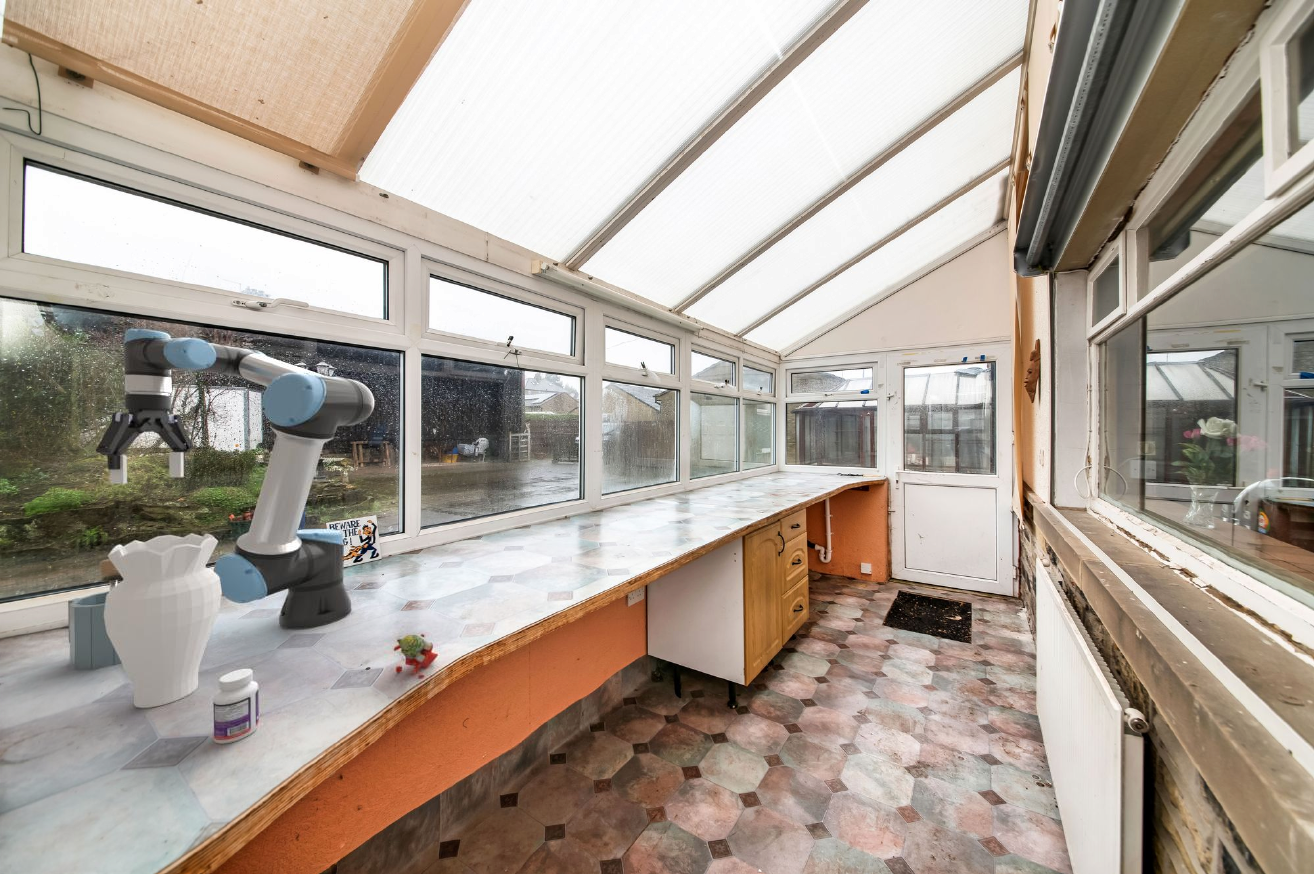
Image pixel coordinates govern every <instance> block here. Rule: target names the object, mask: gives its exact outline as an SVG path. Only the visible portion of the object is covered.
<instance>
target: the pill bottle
mask: <svg viewBox="0 0 1314 874" xmlns="http://www.w3.org/2000/svg"><path fill="white" fill-rule="evenodd" d="M253 673H254V672H253V669H251V668H241V669H236V670H233V671H231V672H228V673H226V674H224V675H222V676H221V677H220V678H219V681H218V685H219V686H218V688H219V690H218V691H217V692H216V693H215V694H214V697H213V701H212V702H213V740H214V742H215V743H217V744H220V745H221V744H223V745H224V744H230V743H234V742H237V741H240V740H242V739H245V738H247V737H248V736H251V734H253V733H254V732H255V731H256V730H257V729H258V727H259V724H260V716H259V715H260V714H259V712H260V711H259V683H257V682H256V681H254V680H253V679H254V674H253Z"/></svg>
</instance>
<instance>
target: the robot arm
mask: <svg viewBox="0 0 1314 874" xmlns="http://www.w3.org/2000/svg"><path fill="white" fill-rule="evenodd" d="M122 344H123V355H124V356H123V357H124V361H123V365H124V391H125V392H128V393H126V395H124V408H125V409H126V410H128V412H113V413H112V414H111V415H112V416H111V421H110V424H109V426H108V427H107V429H106V431H105V433H104V435H103V436H102V438H101V440H100V442H99V443H98V446H97V447H96V449H95V452H96V453H97V454H101V455H102V456H107V469H108V470H109V476H110V477H109V479H110V480H109V482H110V484H113V485H121V484H122V485H125V484H128V473H127V471H128V470H127V469H128V465H127V464H128V461H127V460H128V459H127V457H128V455H124V453H125V452H126V450H127V449H129V447H130V446H131V445H132V443H134V442H135V440H137V438H138V437H139V436H140V435H141V434H143V433H150V432H151V433H152V432H153V433H155V434H157V435H158V436H159V437H160V438H161V439H162V441H164V443H166V445H167V446H168V448H170V449H171V451H169V453H168V454H169V455H168V456H169V457H168V459H169V461H168V464H169V465H168V466H169V467H168V469H169V476H168V477H169V478H184V477H185V476H184V472H185V471H184V465H185V463H186V453H188V452H190V451H191V450H193V448H194V445H193V443H192V440H191V439H190V437H189V434H188V432H187V430H186V429H185V426H184V425H183V422H182V415H181V414H174V413H172V414H169V413H168V411H170V410H171V409H172V397H171V396H170V395H169V394H172V390H173V389H172V370H173V371H174V370H176V371H177V370H178V371H191V372H199V373H200V372H201V373H207V374H208V373H209V374H210V373H211V374H217V375H218V374H221V375H226V376H227V375H228V376H235V377H237V378H238V377H239V378H242V379H243V380H247V381H250V382H253V383H256V384H259V385H262V386H263V387H264V386H265V387H266V389H265V391H264V393H263V396H262V399H261V400H262V402H261V404H262V405H261V406H262V408H263V409H264V410H263V413H264V415H265V418H267V420H268V421H269V422H271V423H270V424H269V427H270V428H271V430H272V432H274V433H275V434H276V437H275V440H274V444H273V447H272V450H271V454H270V457H269V461H268V464H267V468H266V470H265V473H264V478H263V481H262V486H261V489H260V492H259V495H258V499H257V502H256V506H255V510H254V513H253V516H252V520H251V523H250V527H249V530H248V532H246V533H244V534H241V535H240V536H239V537H238V538H237V540H236V543H235V547H234V550H233V552H231V553H225V555H222V557H220V558H218V559H217V560H216V562H215V564H214V566H213V571H214V572H215V573H216V574H217V575H218V576H219V577H220V584H221V590H222V595H221V596H223V597H224V598H226V599H227V600H229V601H230V602H233V603H237V604H247V603H251V602H254V601H257V600H262V599H264V598H265V597H269V596H271V595H274V594H277V593H279V592H283V591H285V590H287V595H286V597H285V599H284V602H283V605H282V607H281V609H280V613H279V614H278V615H279V616H278V626H279V627H281V628H284V629H291V630H292V629H294V630H295V629H296V630H298V629H307V628H308V629H309V628H313V627H318V626H322V625H327V624H330V623H333V622H336V621H338V620H341V619H343V618H344V617H346V616H347V615H349V614H350V613H351V612H352V601H351V598H350V596H349V594H348V591H347V588H346V587H345V584H344V557H345V555H344V551H345V549H344V548H345V543H344V535H343V533H342V531H340V530H337V529H330V528H311V529H299V527H300V524H301V522H302V517H303V514H304V510H305V509H306V508H305V507H306V505H307V504H306V503H307V500H308V497H309V494H310V490H311V487H312V484H313V481H314V477H315V474H316V470H317V467H318V463H319V461H320V457H321V453H322V450H323V447H324V444H325V443H328V442H329V441H331V440H334V438H335V435H336V434H335V433H337V432H336V431H337V428H338V427H344V426H345V427H346V426H355V425H358V424H359V423H362V422H364V421H365V420H367V419H368V418H369V417H370V416H371V414H372V412H373V411H374V408H375V398H374V395H373V393H372V391H371V390H370V388H368V387H367V386H366V385H365V383H362V382H360V381H358V380H354V379H350V378H345V377H341V376H329V375H323V374H320V373H317V372H315V371H311V370H308V369H306V368H302V367H298V366H297V365H293V364H290V363H287V362H284V361H281V360H278V359H275V358H272V357H269V356H267V355H266V354H265V353H263V352H262V351H258V350H256V349H255V350H254V349H251V348H241V347H234V346H229V345H223V344H218V343H212V342H207V341H205V340H203V339H201V338H195V337H192V338H191V337H185V336H182V337H176V338H175V337H174V338H173V337H172V338H171V335H170V334H169V333H167V332H163V331H159V330H153V329H142V328H141V329H139V328H131V329H130V328H129V329H128V330H125V332H124V342H123V343H122Z"/></svg>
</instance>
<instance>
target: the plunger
mask: <svg viewBox="0 0 1314 874" xmlns="http://www.w3.org/2000/svg"><path fill="white" fill-rule="evenodd" d="M120 579H123V577H122V576H121V575H120V573H119V572H118V570H117V569H116V567H115V566H114V565H113V563H112V562H111V560H110V559H109V558H107V559H103V560H100V561H99V581H100V582H109V591H111V590H112V589H113V588H114V587H115V586H116V585H118V580H120Z"/></svg>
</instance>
